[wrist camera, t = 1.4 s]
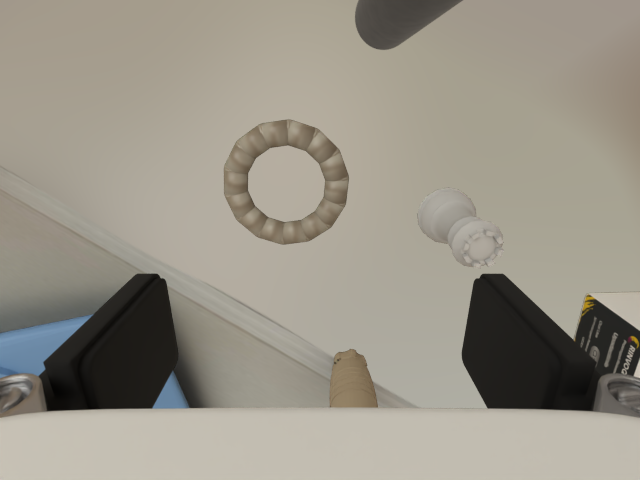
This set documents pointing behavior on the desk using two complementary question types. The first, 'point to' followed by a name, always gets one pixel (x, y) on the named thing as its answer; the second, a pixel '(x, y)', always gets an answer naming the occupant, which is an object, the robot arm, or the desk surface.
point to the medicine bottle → (611, 331)
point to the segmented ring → (301, 139)
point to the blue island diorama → (41, 341)
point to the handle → (351, 382)
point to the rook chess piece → (460, 227)
